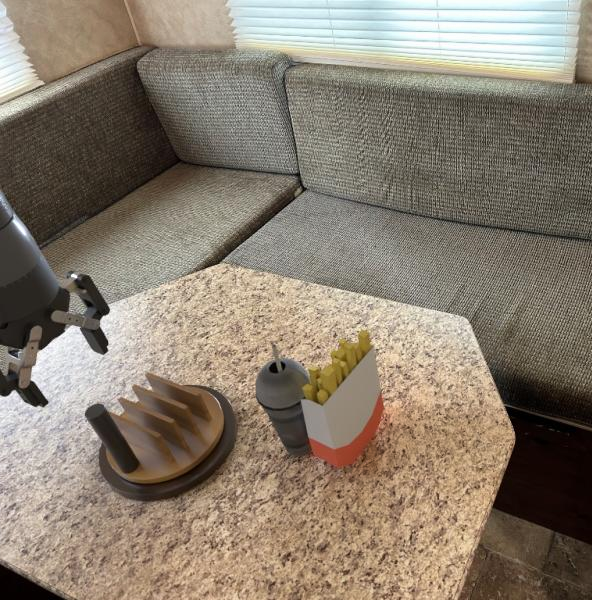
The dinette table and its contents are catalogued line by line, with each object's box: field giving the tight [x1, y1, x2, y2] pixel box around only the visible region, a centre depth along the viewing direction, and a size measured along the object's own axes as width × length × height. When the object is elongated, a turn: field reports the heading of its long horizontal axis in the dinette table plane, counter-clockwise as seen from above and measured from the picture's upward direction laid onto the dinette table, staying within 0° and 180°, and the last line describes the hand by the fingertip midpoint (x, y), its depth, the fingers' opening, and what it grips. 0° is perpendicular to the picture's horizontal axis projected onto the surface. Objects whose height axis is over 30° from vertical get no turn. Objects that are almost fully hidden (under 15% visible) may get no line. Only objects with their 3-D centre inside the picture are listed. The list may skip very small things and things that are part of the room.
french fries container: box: [301, 329, 385, 468], centre depth 78 cm, size 5×11×18 cm, turn 148°
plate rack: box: [84, 371, 224, 484], centre depth 82 cm, size 16×16×12 cm
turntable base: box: [98, 384, 239, 502], centre depth 86 cm, size 19×19×2 cm
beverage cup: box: [254, 344, 313, 457], centre depth 78 cm, size 7×7×20 cm
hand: (72, 376), depth 69 cm, fingers open, 8 cm apart
